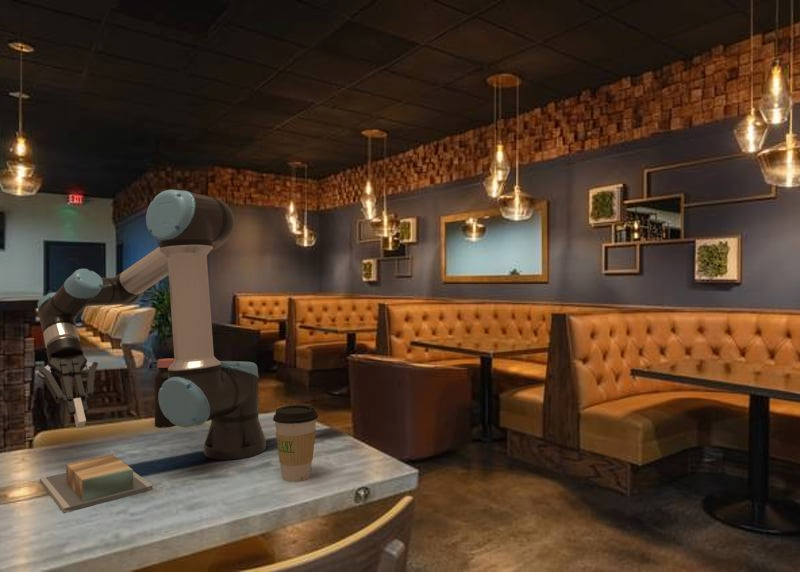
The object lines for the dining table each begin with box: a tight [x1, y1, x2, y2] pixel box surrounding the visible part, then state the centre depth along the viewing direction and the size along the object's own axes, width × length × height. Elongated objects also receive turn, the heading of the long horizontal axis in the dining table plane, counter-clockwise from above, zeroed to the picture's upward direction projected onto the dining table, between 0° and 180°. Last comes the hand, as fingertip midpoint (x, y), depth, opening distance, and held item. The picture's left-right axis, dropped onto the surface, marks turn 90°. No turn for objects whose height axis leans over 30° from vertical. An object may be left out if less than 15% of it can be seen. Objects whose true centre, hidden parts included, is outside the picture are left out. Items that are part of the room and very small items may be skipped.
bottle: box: [153, 357, 176, 428], centre depth 163 cm, size 7×7×20 cm
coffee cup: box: [272, 404, 319, 483], centre depth 118 cm, size 10×10×15 cm
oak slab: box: [65, 453, 134, 501], centre depth 112 cm, size 4×9×14 cm
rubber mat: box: [39, 470, 153, 514], centre depth 114 cm, size 22×16×1 cm
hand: (81, 424), depth 124 cm, fingers closed
